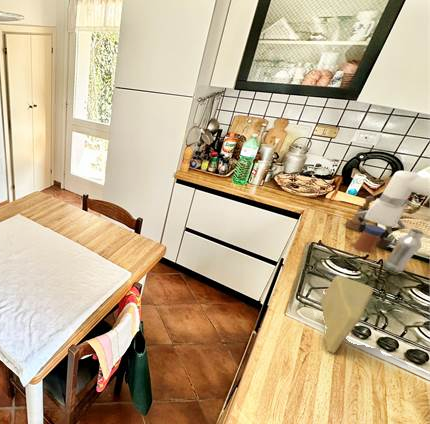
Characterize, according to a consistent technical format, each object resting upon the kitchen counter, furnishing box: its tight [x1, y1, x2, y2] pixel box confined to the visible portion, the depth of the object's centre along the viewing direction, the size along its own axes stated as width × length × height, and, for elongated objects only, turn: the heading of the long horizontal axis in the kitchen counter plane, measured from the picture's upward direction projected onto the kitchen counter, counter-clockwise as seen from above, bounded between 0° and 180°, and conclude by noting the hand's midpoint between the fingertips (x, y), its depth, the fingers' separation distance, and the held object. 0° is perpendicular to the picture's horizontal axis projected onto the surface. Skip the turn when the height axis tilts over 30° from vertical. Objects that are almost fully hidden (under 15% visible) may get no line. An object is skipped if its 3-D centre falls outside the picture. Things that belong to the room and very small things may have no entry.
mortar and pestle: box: [344, 195, 375, 232], centre depth 154 cm, size 7×6×18 cm
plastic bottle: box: [382, 228, 425, 273], centre depth 122 cm, size 6×7×20 cm
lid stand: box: [375, 236, 393, 250], centre depth 143 cm, size 5×5×4 cm
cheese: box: [319, 275, 374, 354], centre depth 96 cm, size 22×10×15 cm, turn 138°
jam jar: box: [353, 229, 382, 253], centre depth 139 cm, size 7×7×10 cm
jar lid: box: [364, 224, 386, 236], centre depth 137 cm, size 7×7×2 cm
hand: (371, 234), depth 138 cm, fingers closed on jar lid, 6 cm apart
